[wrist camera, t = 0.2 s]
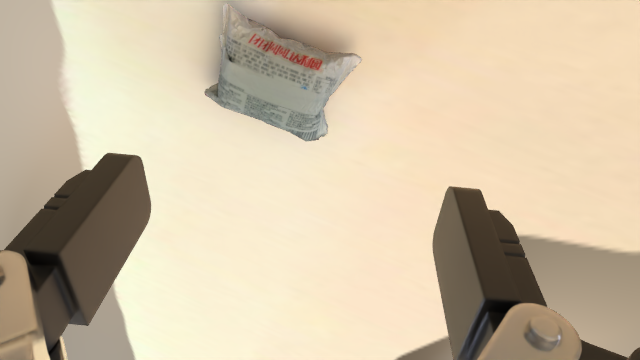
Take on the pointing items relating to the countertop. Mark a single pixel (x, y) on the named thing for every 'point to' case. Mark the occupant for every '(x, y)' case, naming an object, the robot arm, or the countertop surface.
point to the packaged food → (277, 77)
